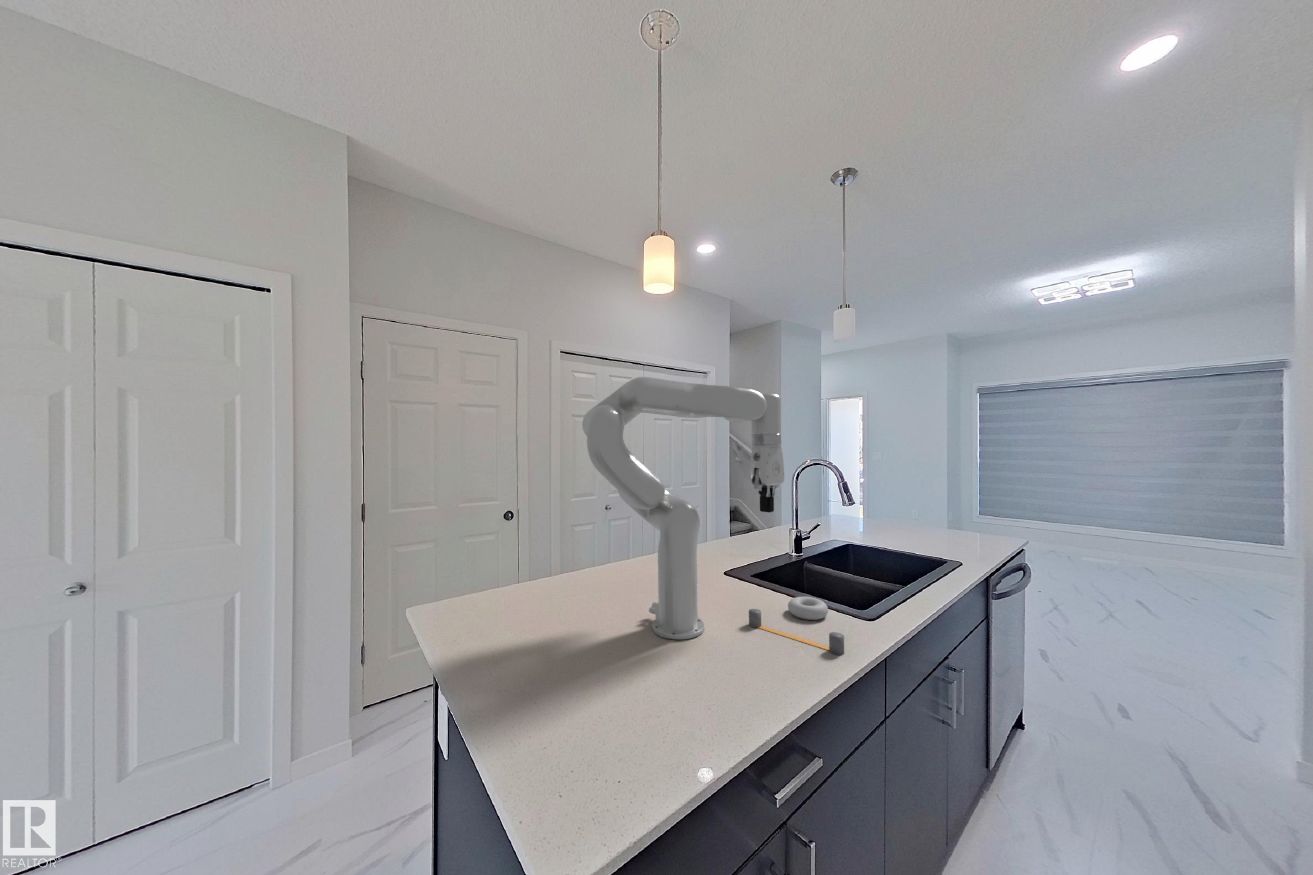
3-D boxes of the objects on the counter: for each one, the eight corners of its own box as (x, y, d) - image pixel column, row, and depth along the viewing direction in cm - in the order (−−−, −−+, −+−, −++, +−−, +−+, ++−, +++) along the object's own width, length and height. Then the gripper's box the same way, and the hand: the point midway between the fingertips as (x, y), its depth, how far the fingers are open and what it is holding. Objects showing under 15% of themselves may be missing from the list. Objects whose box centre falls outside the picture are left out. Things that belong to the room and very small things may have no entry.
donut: (827, 625, 110) (829, 609, 119) (826, 611, 110) (829, 597, 119) (785, 618, 114) (790, 604, 123) (785, 605, 114) (790, 592, 123)
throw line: (746, 625, 110) (746, 611, 110) (752, 621, 112) (752, 607, 112) (841, 656, 94) (840, 639, 94) (846, 651, 96) (846, 634, 96)
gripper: (764, 441, 108) (765, 517, 108) (793, 440, 119) (793, 509, 119) (738, 441, 113) (738, 513, 113) (767, 440, 124) (768, 506, 124)
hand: (766, 511), depth 116 cm, fingers closed
